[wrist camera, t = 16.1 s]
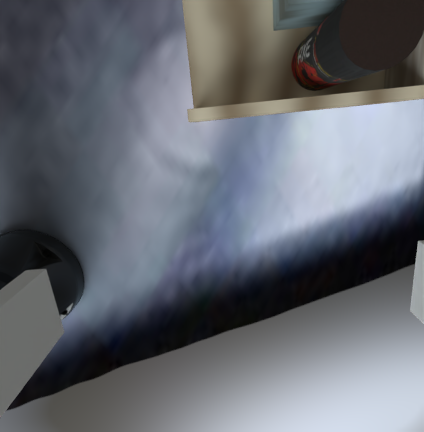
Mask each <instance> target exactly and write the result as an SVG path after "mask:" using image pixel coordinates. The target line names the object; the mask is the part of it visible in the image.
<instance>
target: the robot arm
mask: <svg viewBox="0 0 424 432" xmlns="http://www.w3.org/2000/svg"><path fill="white" fill-rule="evenodd" d="M83 287H84V279H83V273H82V270H81V267H80V265H79V263H78V261H77V259H76V258H75V256H74V255H73V254H72V253H71V251H70V250H69V249H68V248H67V247H66V246H65V245H63V244H62V243H61V242H59V241H58V240H56V239H55V238H53V237H51V236H49V235H46V234H44V233H40V232H36V231H30V230H19V231H13V232H9V233H7V234H5V235H2V236H1V237H0V418H1V416H2V415H3V414H4V412H5V411H6V410H7V408H8V407H9V406H10V404H11V403H12V402H13V400H14V399H15V398H16V396H17V395H18V394H19V392H20V391H21V389H22V388H23V387H24V385H25V384H26V383H27V381H28V380H29V379H30V377H31V376H32V375H33V373H34V372H35V371H36V369H37V368H38V367H39V365H40V364H41V363H42V361H43V360H44V359H45V357H46V356H47V355H48V353H49V352H50V351H51V349H52V348H53V347H54V345H55V344H56V343H57V341H58V340H59V339H60V337H61V336H62V335H63V333H64V329H63V326H62V322H61V320H63V319H64V318H65V317H66V316H67V315H68V314H69V313H70V312H71V311H72V310H73V308H74V307H75V306H76V305H77V303H78V302H79V300H80V298H81V296H82V293H83ZM410 311H411V312H412V313H413V314H414V315H415V316H416V317H417V318H418V319H419V320H420V321H421V322H422V323H423V324H424V241H418V247H417V255H416V264H415V273H414V282H413V290H412V298H411V308H410Z"/></svg>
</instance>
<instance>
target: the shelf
mask: <svg viewBox="0 0 424 432" xmlns="http://www.w3.org/2000/svg"><path fill="white" fill-rule="evenodd" d="M343 1H344V0H182V2H183V11H184V21H185V30H186V39H187V49H188V58H189V67H190V77H191V86H192V95H193V105H194V109H187V111H188V120H189V122H201V121H211V120H221V119H230V118H240V117H250V116H260V115H270V114H280V113H290V112H300V111H310V110H320V109H330V108H340V107H350V106H360V105H370V104H380V103H390V102H399V101H408V100H416V99H424V32H423V35H422V37H421V39H420V41H419V43H418V44H417V46H416V48H415V49H414V50H413V51H412V52H411V54H410V55H409V56H408V57H407V58H406V59H404V60H403V61H402V62H400V63H399V64H397V65H395V66H393V67H391V68H388V69H386V70H382V71H379V72H376V73H373V74H370V75H367V76H363V77H360V78H357V79H354V80H351V81H348V82H345V83H341V84H338V85H335V86H332V87H329V88H326V89H322V90H317V91H312V90H307V89H305V88H303V87H301V86H300V85H299V84H298V83H297V82H296V80H295V79H294V77H293V74H292V67H291V63H292V58H293V55H294V52H295V50H296V49H297V47H298V46H299V45H300V43H301V42H302V41H303V40H304V39H306V38H307V37H308V36H309V35H310V34H311V33H312V32H313V31H314V30H315V29H316V28H317V27H318V26H319V25H320V24H321V23H322V22H323V21H324V20H325V19H326V18H327V17H328V16H329V15H330V14H331V13H332V12H333V11H334V10H335V9H336V8H337V7H338V6H339V5H340V4H341V3H342V2H343Z"/></svg>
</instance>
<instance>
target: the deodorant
mask: <svg viewBox="0 0 424 432" xmlns="http://www.w3.org/2000/svg"><path fill="white" fill-rule="evenodd" d="M423 32H424V0H344V1H343V2H342V3H341V4H340V5H339V6H338V7H337V8H336V9H335V10H334V11H333V12H332V13H331V14H330V15H329V16H328V17H327V18H326V19H325V20H324V21H323V22H322V23H321V24H320V25H319V26H318V27H317V28H316V29H315V30H314V31H313V32H312V33H311V34H310V35H309V36H308V37H307V38H306V39H304V40H303V41H302V42H301V43H300V45H299V46H298V47H297V49H296V50H295V52H294V55H293V58H292V63H291V67H292V74H293V77H294V79H295V80H296V82H297V83H298V84H299V85H300V86H301V87H303V88H305V89H307V90H312V91H317V90H322V89H326V88H329V87H332V86H335V85H338V84H341V83H345V82H348V81H351V80H354V79H357V78H360V77H363V76H367V75H370V74H373V73H376V72H379V71H382V70H386V69H388V68H391V67H393V66H395V65H397V64H399V63H400V62H402V61H403V60H404V59H406V58H407V57H408V56H409V55H410V54H411V52H412V51H413V50H414V49H415V48H416V46H417V44H418V43H419V41H420V39H421V37H422V35H423Z"/></svg>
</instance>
